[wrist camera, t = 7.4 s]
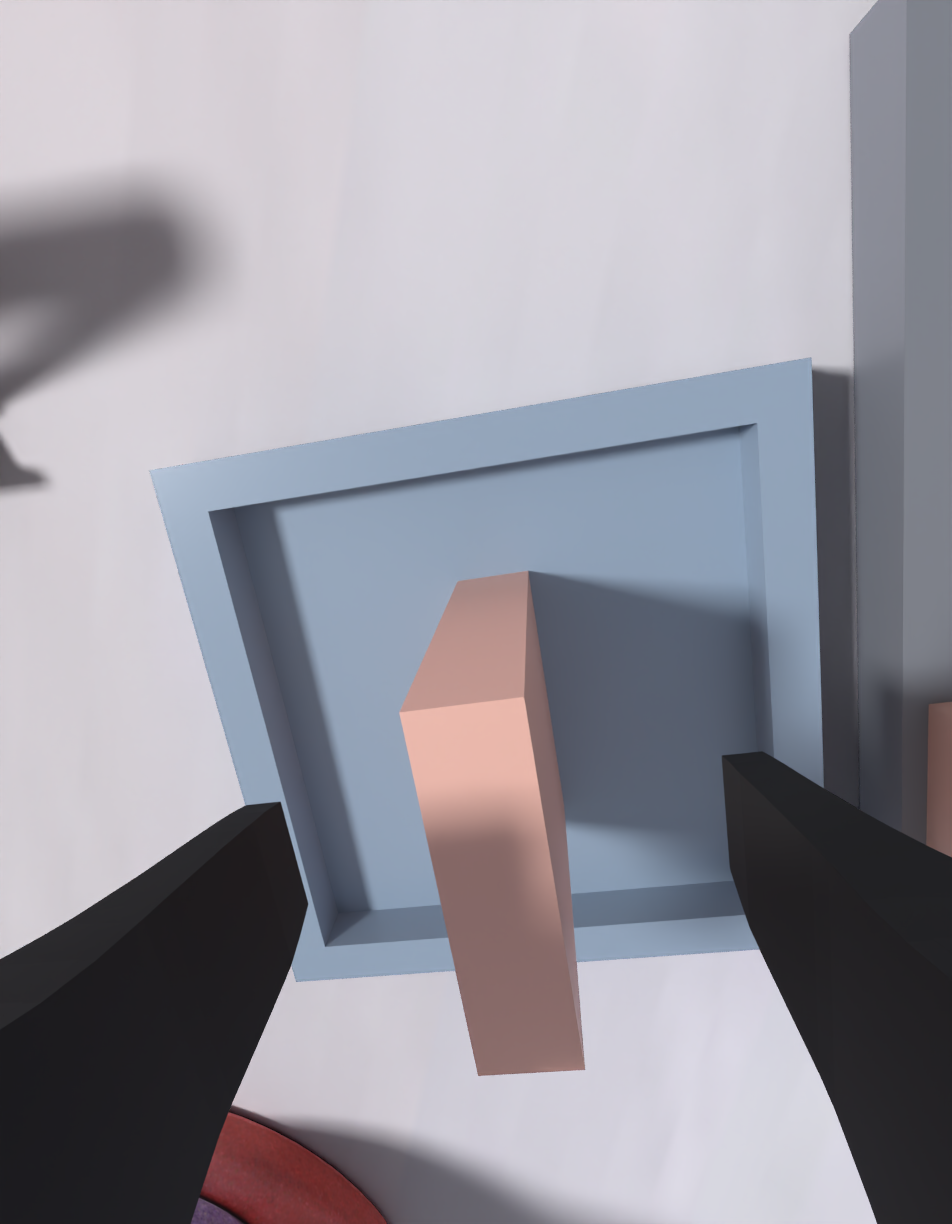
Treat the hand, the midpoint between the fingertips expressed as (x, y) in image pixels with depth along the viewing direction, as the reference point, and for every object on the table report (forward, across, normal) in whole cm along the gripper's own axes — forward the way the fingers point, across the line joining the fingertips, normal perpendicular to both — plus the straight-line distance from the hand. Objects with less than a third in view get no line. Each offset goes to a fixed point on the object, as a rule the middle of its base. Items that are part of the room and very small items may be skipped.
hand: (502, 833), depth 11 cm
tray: (+6, 0, 0) cm, 6 cm away
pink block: (+5, 0, 0) cm, 5 cm away
